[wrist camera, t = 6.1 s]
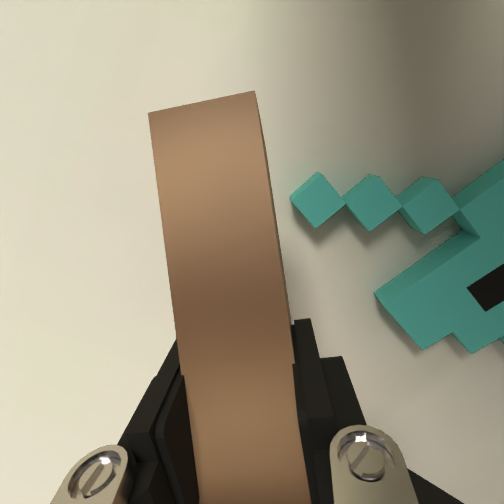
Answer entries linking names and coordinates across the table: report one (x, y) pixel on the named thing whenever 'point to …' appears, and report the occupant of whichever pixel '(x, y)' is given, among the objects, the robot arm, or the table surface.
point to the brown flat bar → (229, 301)
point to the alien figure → (433, 253)
